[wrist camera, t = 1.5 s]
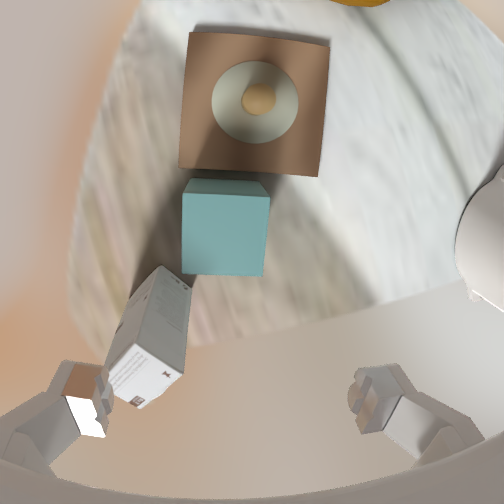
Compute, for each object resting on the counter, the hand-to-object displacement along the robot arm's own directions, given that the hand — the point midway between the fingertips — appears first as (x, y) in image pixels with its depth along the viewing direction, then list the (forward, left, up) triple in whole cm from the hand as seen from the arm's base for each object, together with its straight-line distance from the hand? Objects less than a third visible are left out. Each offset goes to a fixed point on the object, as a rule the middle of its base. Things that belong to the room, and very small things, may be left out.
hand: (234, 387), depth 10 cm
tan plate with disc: (-2, -10, -21) cm, 23 cm away
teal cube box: (0, 0, -21) cm, 21 cm away
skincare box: (+6, +9, -21) cm, 24 cm away
